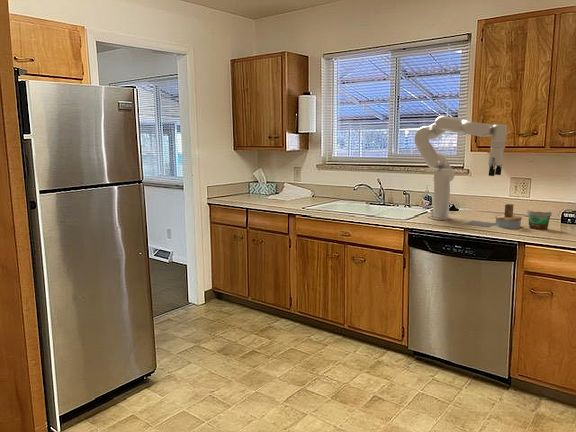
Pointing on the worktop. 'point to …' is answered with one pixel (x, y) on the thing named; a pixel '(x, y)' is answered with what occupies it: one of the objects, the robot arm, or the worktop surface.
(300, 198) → the worktop surface
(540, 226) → the food container
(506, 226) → the bowl
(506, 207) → the lid
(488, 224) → the mat
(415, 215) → the worktop surface
